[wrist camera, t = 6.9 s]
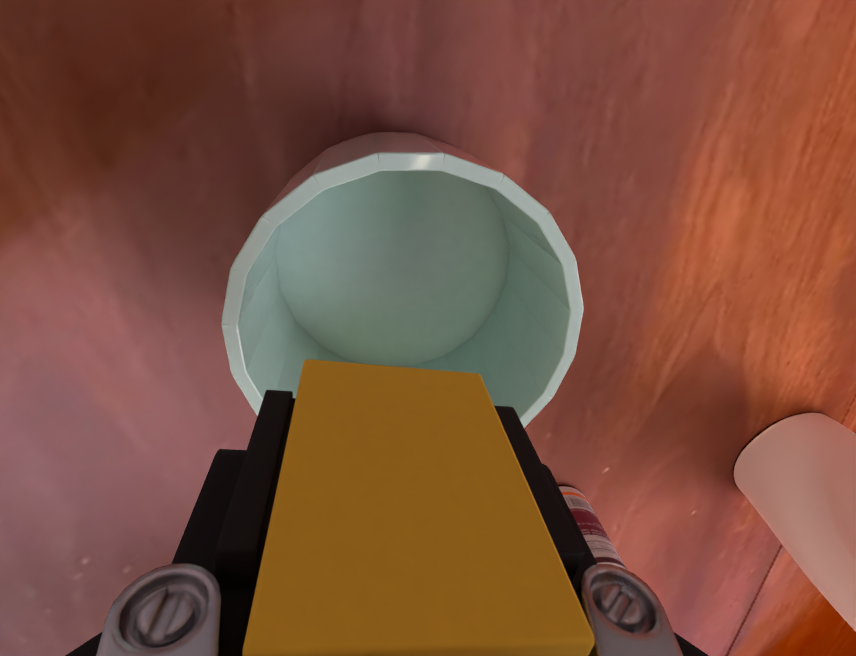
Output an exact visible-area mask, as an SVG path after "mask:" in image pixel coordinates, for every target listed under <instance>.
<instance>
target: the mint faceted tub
mask: <svg viewBox="0 0 856 656" xmlns="http://www.w3.org/2000/svg"><path fill="white" fill-rule="evenodd" d="M583 307H584V306H583V300H582V294H581V287H580V281H579V275H578V268H577V262H576V259H575V256H574V254H573V252H572V250H571V249H570V247H569V245H568V243H567V242H566V240H565V238H564V236H563V234H562V233H561V231H560V229H559V227H558V226H557V224H556V222H555V220H554V219H553V217H552V215H551V213H550V212H549V211H548V210H547V209H546V208H545V207H544V206H543V205H541V204H540V203H539V202H538V201H536V200H535V199H534V198H533V197H532V196H530V195H529V194H528V193H527V192H526V191H524V190H523V189H522V188H521V187H520V186H518V185H517V184H516V183H515V182H514V181H512V180H511V179H510V178H509V177H508V176H506V175H505V174H503V173H501V172H500V171H498V170H496V169H494V168H492V167H491V166H489V165H487V164H485V163H483V162H482V161H480V160H478V159H476V158H475V157H473V156H471V155H469V154H467V153H466V152H464V151H462V150H460V149H458V148H457V147H454V146H451V145H448V144H445V143H443V142H440V141H438V140H435V139H433V138H429V137H426V136H423V135H421V134H416V133H402V132H381V133H372V134H371V133H369V134H366V135H362V136H358V137H355V138H352V139H349V140H346V141H343V142H341V143H339V144H337V145H335V146H332V147H329V148H328V149H326V150H325V151H324V152H322V153H321V154H320V155H319V156H317V157H316V158H314V159H313V160H312V161H311V162H309V163H308V164H307V165H306V166H305V167H304V168H303V169H301V170H300V171H299V172H298V173H296V174H295V175H294V176H293V177H292V179H291V180H290V181H289V182H288V184H287V185H286V186H285V187H284V189H283V190H282V191H281V192H280V193H279V195H278V196H277V197H276V198H275V200H274V201H273V202H272V203H271V205H270V206H269V207H268V208H267V210H266V211H265V212H264V213H263V215H262V216H261V217H260V219H259V220H258V222H257V224H256V225H255V227H254V229H253V230H252V232H251V234H250V235H249V237H248V239H247V240H246V242H245V244H244V245H243V247H242V249H241V250H240V252H239V254H238V255H237V257H236V259H235V261H234V262H233V264H232V266H231V269H230V272H229V278H228V284H227V290H226V296H225V302H224V308H223V314H222V319H221V322H222V324H221V326H222V331H223V335H224V340H225V345H226V350H227V355H228V360H229V364H230V369H231V373H232V376H233V378H234V379H235V381H236V382H237V384H238V386H239V387H240V389H241V391H242V392H243V394H244V395H245V397H246V399H247V400H248V402H249V403H250V405H251V407H252V408H253V410H254V411H255V413H256V415H257V416H258V413H259V410H260V407H261V404H262V401H263V398H264V395H265V392H266V390H281V391H292V392H293V398H296V395H297V390H298V386H299V381H300V376H301V371H302V367H303V363H304V361H305V360H307V359H312V360H324V361H336V362H348V363H360V364H372V365H384V366H396V367H407V368H419V369H431V370H443V371H455V372H467V373H478V374H480V375H481V377H482V379H483V382H484V384H485V386H486V388H487V391H488V393H489V395H490V398H491V400H492V402H493V405H494V406H509V407H513V408H514V409H515V411H516V413H517V415H518V417H519V419H520V421H521V423H522V425H523V427H524V428H525V427H526V426H527V424H528V423H529V422H530V421H531V420H532V419H533V418H534V417H535V416H536V415H537V414H538V413H539V412H540V411H541V410H542V409H543V408H544V407H545V406H546V405H547V404H548V402H549V401H550V400H551V399H552V397H554V395H555V393H556V391H557V389H558V387H559V385H560V384H561V382H562V380H563V378H564V376H565V374H566V372H567V370H568V368H569V367H570V365H571V363H572V361H573V359H574V355H575V354H576V348H577V343H578V337H579V332H580V326H581V321H582V315H583Z"/></svg>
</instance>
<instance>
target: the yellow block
mask: <svg viewBox="0 0 856 656" xmlns="http://www.w3.org/2000/svg"><path fill="white" fill-rule="evenodd" d="M593 646H594V635H593V632H592V630H591V628H590V625H589V623H588V621H587V619H586V616H585V614H584V612H583V609H582V607H581V605H580V602H579V600H578V598H577V596H576V593H575V591H574V589H573V586H572V584H571V582H570V579H569V577H568V575H567V573H566V570H565V568H564V566H563V563H562V561H561V559H560V556H559V554H558V552H557V550H556V547H555V545H554V543H553V540H552V538H551V536H550V533H549V531H548V529H547V527H546V524H545V522H544V520H543V517H542V515H541V513H540V510H539V508H538V506H537V504H536V501H535V499H534V497H533V494H532V492H531V490H530V487H529V485H528V483H527V481H526V478H525V476H524V474H523V471H522V469H521V467H520V464H519V462H518V460H517V458H516V455H515V453H514V451H513V448H512V446H511V444H510V441H509V439H508V437H507V434H506V432H505V430H504V428H503V425H502V423H501V421H500V418H499V416H498V414H497V411H496V409H495V407H494V405H493V402H492V400H491V398H490V395H489V393H488V391H487V388H486V386H485V384H484V382H483V379H482V377H481V375H480V374H478V373H467V372H455V371H443V370H431V369H419V368H407V367H396V366H384V365H372V364H360V363H348V362H336V361H324V360H312V359H307V360H305V361H304V363H303V367H302V371H301V376H300V381H299V386H298V390H297V395H296V400H295V404H294V409H293V414H292V419H291V423H290V428H289V433H288V438H287V442H286V447H285V452H284V456H283V461H282V466H281V471H280V475H279V480H278V485H277V490H276V494H275V499H274V504H273V508H272V513H271V518H270V523H269V527H268V532H267V537H266V542H265V546H264V551H263V556H262V560H261V565H260V570H259V575H258V579H257V584H256V589H255V594H254V598H253V603H252V608H251V612H250V617H249V622H248V627H247V631H246V636H245V641H244V646H243V653H242V656H588V655H589V653H590V651H591V649H592V648H593Z"/></svg>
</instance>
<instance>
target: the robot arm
mask: <svg viewBox="0 0 856 656" xmlns="http://www.w3.org/2000/svg"><path fill="white" fill-rule="evenodd" d="M295 400H296V398H293V392H292V391H281V390H266V392H265V395H264V398H263V401H262V404H261V407H260V410H259V413H258V417H257V420H256V423H255V426H254V429H253V432H252V435H251V439H250V442H249V445H248V448H247V450H228V449H219V450H218V451H217V453H216V455H215V457H214V459H213V462H212V464H211V467H210V469H209V472H208V474H207V477H206V479H205V482H204V484H203V487H202V489H201V492H200V494H199V497H198V499H197V502H196V504H195V507H194V509H193V512H192V514H191V517H190V519H189V522H188V524H187V527H186V529H185V531H184V534H183V536H182V539H181V541H180V544H179V546H178V549H177V551H176V554H175V556H174V559H173V561H172V564H170V565H167V566H163V567H159V568H156V569H154V570H152V571H150V572H148V573H146V574H144V575H142V576H140V577H139V578H137V579H136V580H135V581H134V582H132V583H131V584H130V585H129V586H127V587H126V588H125V589H124V590H123V591H122V593H121V594H120V595H119V596H118V598H117V599H116V600H115V601H114V603H113V605H112V607H111V609H110V611H109V613H108V616H107V618H106V621H105V625H104V629H103V632H101V633H100V634H98V635H96V636H95V637H93V638H92V639H90V640H89V641H87V642H86V643H84V644H83V645H81V646H80V647H78V648H77V649H75V650H74V651H72V652H71V653H69V654H68V655H66V656H242V653H243V646H244V641H245V636H246V631H247V627H248V622H249V617H250V612H251V608H252V603H253V598H254V594H255V589H256V584H257V579H258V575H259V570H260V565H261V560H262V556H263V551H264V546H265V542H266V537H267V532H268V527H269V523H270V518H271V513H272V508H273V504H274V499H275V494H276V490H277V485H278V480H279V475H280V471H281V466H282V461H283V456H284V452H285V447H286V442H287V438H288V433H289V428H290V423H291V419H292V414H293V409H294V404H295ZM494 407H495V409H496V411H497V414H498V416H499V418H500V421H501V423H502V425H503V428H504V430H505V432H506V434H507V437H508V439H509V441H510V444H511V446H512V448H513V451H514V453H515V455H516V458H517V460H518V462H519V464H520V467H521V469H522V471H523V474H524V476H525V478H526V481H527V483H528V485H529V487H530V490H531V492H532V494H533V497H534V499H535V501H536V504H537V506H538V508H539V510H540V513H541V515H542V517H543V520H544V522H545V524H546V527H547V529H548V531H549V533H550V536H551V538H552V540H553V543H554V545H555V547H556V550H557V552H558V554H559V556H560V559H561V561H562V563H563V566H564V568H565V570H566V573H567V575H568V577H569V579H570V582H571V584H572V586H573V589H574V591H575V593H576V596H577V598H578V600H579V602H580V605H581V607H582V609H583V612H584V614H585V616H586V619H587V621H588V623H589V625H590V628H591V630H592V632H593V635H594V646H593V648H592V649H591V651H590V653H589V655H588V656H708V655H707V654H705V653H704V652H702V651H701V650H699V649H698V648H697V647H695V646H694V645H692V644H691V643H689V642H688V641H686V640H685V639H683V638H682V637H680V636H679V635H677V634H676V633H674V632H673V630H672V627H671V625H670V623H669V620H668V618H667V615H666V613H665V611H664V608H663V606H662V605H661V603H660V601H659V599H658V597H657V596H656V594H655V593H654V592H653V591H652V590H651V589H650V587H649V586H648V585H647V584H646V583H645V582H644V581H642V580H641V579H640V578H639V577H637V576H636V575H635V574H633V573H631V572H629V571H628V570H626V569H624V568H622V567H618V566H615V565H612V564H597V562H596V560H595V558H594V556H593V554H592V552H591V550H590V548H589V546H588V544H587V542H586V540H585V538H584V536H583V534H582V532H581V530H580V528H579V526H578V524H577V522H576V520H575V518H574V516H573V514H572V512H571V510H570V508H569V507H568V505H567V503H566V501H565V499H564V497H563V495H562V493H561V491H560V489H559V487H558V485H557V483H556V481H555V479H554V477H553V475H552V473H551V471H550V470H549V468H548V467H547V466H546V465H544V464H542V463H541V461H540V459H539V457H538V455H537V453H536V451H535V449H534V447H533V445H532V443H531V441H530V439H529V437H528V435H527V433H526V431H525V429H524V427H523V425H522V423H521V421H520V419H519V417H518V415H517V413H516V411H515V409H514V408H513V407H509V406H494Z"/></svg>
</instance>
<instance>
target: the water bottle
mask: <svg viewBox="0 0 856 656" xmlns="http://www.w3.org/2000/svg"><path fill="white" fill-rule="evenodd" d="M734 480H735V483H736V485H737V487H738V488H739V489H740V490H741V492H742V493H743V494H744V495H745V497H746V498H747V499H748V500H749V501H750V503H751V504H752V505H753V506H754V508H755V509H756V510H757V512H758V513H759V514H760V515H761V517H762V518H763V519H764V521H765V522H766V523H767V525H768V526H769V527H770V529H771V530H772V531H773V533H774V534H775V535H776V537H777V538H778V539H779V541H780V542H781V544H782V545H783V546H784V547H785V549H786V550H787V551H788V553H789V554H790V555H791V557H792V558H793V559H794V561H795V562H796V563H797V565H798V566H799V567H800V568H801V570H802V571H803V572H804V573H805V575H806V576H807V577H808V578H809V580H810V581H811V582H812V583H813V584H814V585H815V587H816V588H817V589H818V590H819V591H820V592H821V593H822V595H823V596H824V597H825V598H826V599H827V600H828V602H829V603H830V604H831V605H832V606H833V607H834V609H835V610H836V611H837V612H838V613H839V614H840V615H841V616H842V617H843V618H844V620H845V621H846V622H847V623H848V624H849V625H850V626H851V627H852V628H853V629H854V630H855V632H856V434H855V433H854V432H852V431H851V430H849V429H848V428H846V427H845V426H843V425H842V424H840V423H838V422H837V421H835V420H833V419H831V418H829V417H828V416H826V415H824V414H820V413H804V414H799V415H795V416H792V417H788V418H786V419H784V420H781V421H779V422H777V423H776V424H774V425H772V426H770V427H769V428H767V429H766V430H765V431H763V432H762V433H761V434H759V435H758V436H757V437H756V438H754V439H753V440H752V441H751V442H750V443H749V444H748V445H747V446H746V447H745V448H744V450H743V451H742V452H741V454H740V455H739V457H738V459H737V461H736V464H735V467H734Z"/></svg>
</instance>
